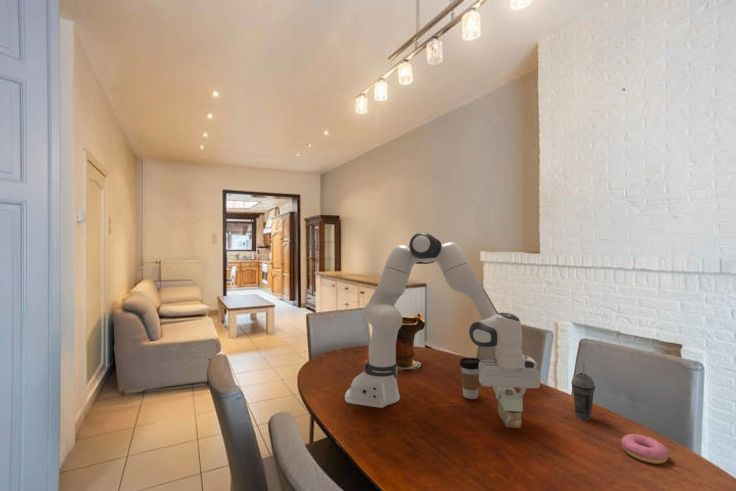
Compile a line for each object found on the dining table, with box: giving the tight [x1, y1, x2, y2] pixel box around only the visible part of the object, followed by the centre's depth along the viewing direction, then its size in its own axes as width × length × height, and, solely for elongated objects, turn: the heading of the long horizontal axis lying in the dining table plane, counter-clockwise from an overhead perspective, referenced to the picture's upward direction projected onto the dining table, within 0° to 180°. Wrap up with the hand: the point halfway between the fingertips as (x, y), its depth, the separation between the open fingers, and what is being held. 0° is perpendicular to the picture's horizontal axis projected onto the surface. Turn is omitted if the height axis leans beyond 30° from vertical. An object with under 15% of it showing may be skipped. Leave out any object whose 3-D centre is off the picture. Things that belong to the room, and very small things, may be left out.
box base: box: [497, 399, 522, 429], centre depth 121 cm, size 5×10×5 cm, turn 173°
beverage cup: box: [571, 362, 596, 421], centre depth 123 cm, size 7×7×20 cm
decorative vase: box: [396, 312, 426, 371], centre depth 179 cm, size 21×23×28 cm
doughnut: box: [620, 433, 670, 464], centre depth 101 cm, size 11×11×4 cm
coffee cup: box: [459, 357, 481, 400], centre depth 141 cm, size 8×8×15 cm
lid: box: [497, 387, 524, 413], centre depth 121 cm, size 6×11×5 cm, turn 173°
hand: (508, 398), depth 121 cm, fingers closed on lid, 6 cm apart
